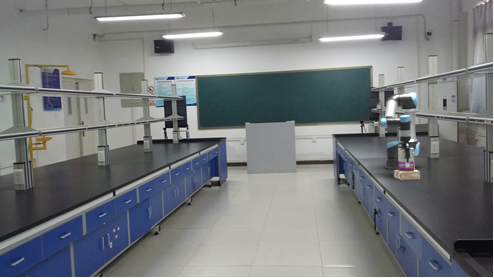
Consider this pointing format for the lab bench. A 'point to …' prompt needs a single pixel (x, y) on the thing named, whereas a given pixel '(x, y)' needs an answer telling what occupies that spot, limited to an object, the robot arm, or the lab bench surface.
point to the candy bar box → (402, 159)
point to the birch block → (407, 174)
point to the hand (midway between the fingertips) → (406, 166)
